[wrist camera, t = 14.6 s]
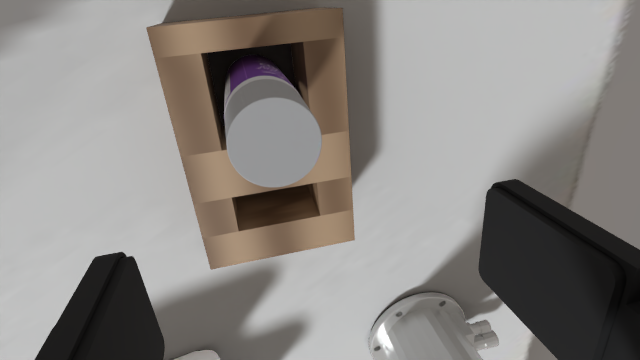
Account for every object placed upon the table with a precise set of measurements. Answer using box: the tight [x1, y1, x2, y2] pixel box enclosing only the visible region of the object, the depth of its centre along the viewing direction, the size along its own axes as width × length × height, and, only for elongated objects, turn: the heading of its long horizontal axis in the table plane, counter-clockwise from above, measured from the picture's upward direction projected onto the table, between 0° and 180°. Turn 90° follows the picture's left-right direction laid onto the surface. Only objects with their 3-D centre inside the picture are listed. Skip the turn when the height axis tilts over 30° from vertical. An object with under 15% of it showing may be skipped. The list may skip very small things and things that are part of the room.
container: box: [224, 54, 322, 187], centre depth 24 cm, size 5×5×15 cm
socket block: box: [147, 8, 355, 269], centre depth 30 cm, size 12×18×6 cm, turn 5°
